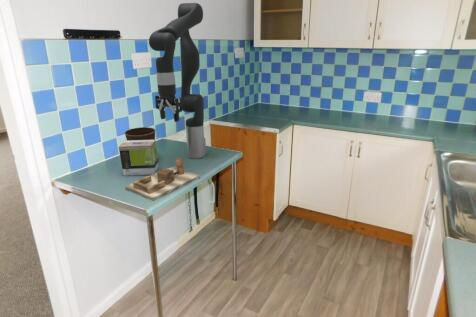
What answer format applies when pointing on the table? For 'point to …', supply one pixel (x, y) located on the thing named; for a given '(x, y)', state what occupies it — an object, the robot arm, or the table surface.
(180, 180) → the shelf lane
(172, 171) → the walnut block
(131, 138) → the plant pot
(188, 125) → the robot arm
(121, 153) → the tea box
